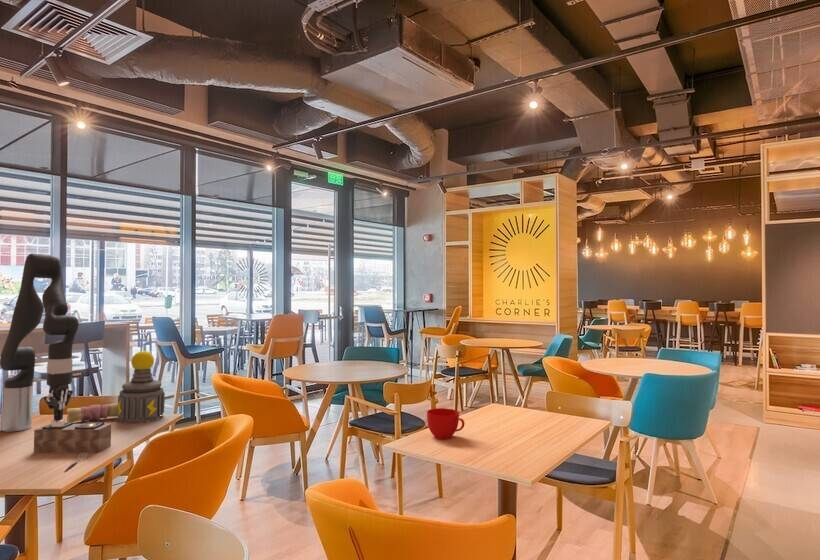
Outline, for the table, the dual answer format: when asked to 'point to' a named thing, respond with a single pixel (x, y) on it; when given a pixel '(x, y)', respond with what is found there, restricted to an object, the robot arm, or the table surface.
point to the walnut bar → (72, 438)
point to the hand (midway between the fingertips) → (58, 419)
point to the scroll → (92, 412)
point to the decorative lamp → (141, 393)
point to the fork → (76, 462)
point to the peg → (57, 423)
